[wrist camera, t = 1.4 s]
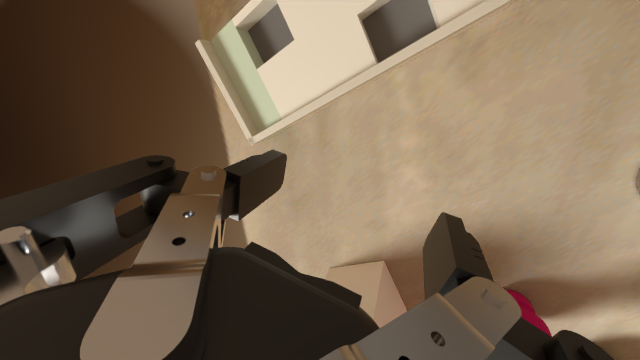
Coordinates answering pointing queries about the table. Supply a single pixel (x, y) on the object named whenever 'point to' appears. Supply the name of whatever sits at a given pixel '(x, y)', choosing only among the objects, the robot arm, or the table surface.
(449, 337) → the robot arm
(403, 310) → the milk
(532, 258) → the table surface
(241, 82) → the tray
